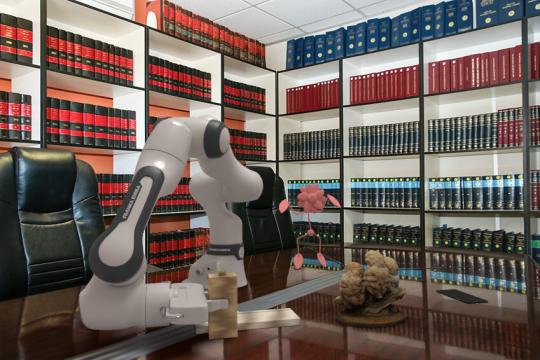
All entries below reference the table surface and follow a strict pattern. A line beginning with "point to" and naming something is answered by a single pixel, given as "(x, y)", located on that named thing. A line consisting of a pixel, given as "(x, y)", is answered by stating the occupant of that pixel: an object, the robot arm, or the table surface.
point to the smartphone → (461, 296)
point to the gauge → (223, 319)
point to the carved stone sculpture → (370, 293)
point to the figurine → (311, 202)
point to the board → (260, 319)
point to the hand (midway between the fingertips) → (226, 299)
